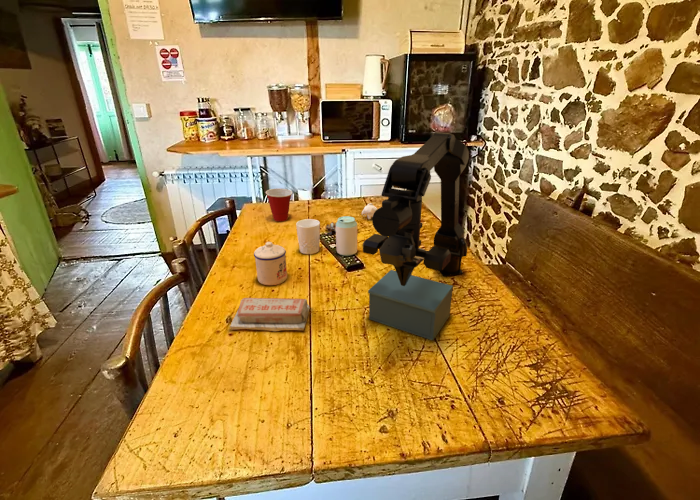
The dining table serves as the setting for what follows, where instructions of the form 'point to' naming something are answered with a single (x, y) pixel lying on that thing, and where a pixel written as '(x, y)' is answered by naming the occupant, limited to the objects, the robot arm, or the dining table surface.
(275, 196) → the plastic cup
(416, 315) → the box
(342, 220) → the can
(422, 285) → the lid
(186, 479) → the dining table surface
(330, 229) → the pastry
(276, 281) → the teacup with lid
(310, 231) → the white cup
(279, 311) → the packaged product
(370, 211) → the elephant figurine
